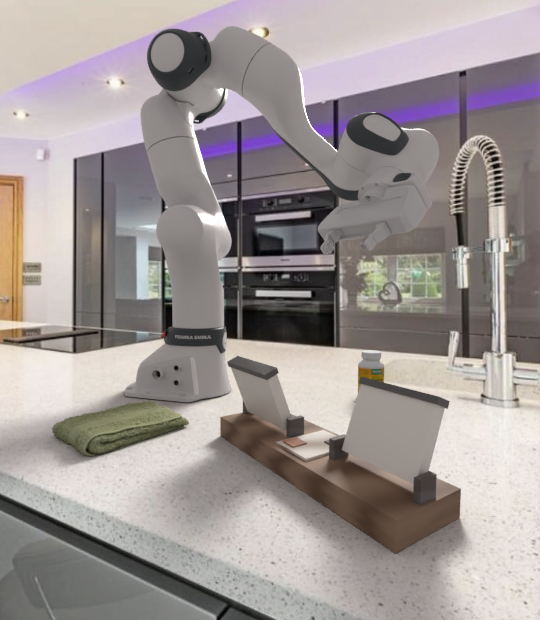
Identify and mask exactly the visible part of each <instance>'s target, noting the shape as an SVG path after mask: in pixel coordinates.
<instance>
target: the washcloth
mask: <svg viewBox="0 0 540 620" xmlns="http://www.w3.org/2000/svg"><path fill="white" fill-rule="evenodd" d="M188 425H190V421H189V419H188V418H186V417H183V416H182V414H180V413H177V412H175V411H172V409H171V408H169V407H168V406H165V405H164V406H163V405H158V404H157V403H156V402H155V401H150V400H147V401H139V402H130V403H126V404H122V405H118V406H115V407H109V408H106V409H104V410H100V411H95V412H89V413H83V414H80V415H75V416H69V417H66V418H64V419H63V420H61V421H58V422H56V423H54V425H53V427H52V428H51V430H52V432H51V433H52V434H53V436H54V437H57V438H58V439H60V440H62V441H63V442H64V443H66V445H69V444H70V445H72V446H73V447H74V449H75V450H77V451H78V452H79V453H81V454H82V456H86V457H94V456H99V455H100V454H105V453H108V452H111V451H115V450H119V449H122V448H125V447H127V446H131V445H134V444H137V443H139V442H143V441H145V440H148V439H151V438H153V437H157V436H159V435H162V434H166V433H168V432H170V431H175V430H179V429H183V428H184V427H186V426H188ZM178 428H179V429H178Z"/></svg>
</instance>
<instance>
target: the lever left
mask: <svg viewBox="0 0 540 620" xmlns="http://www.w3.org/2000/svg"><path fill="white" fill-rule="evenodd" d="M226 364H227V366H228V368H230V369H231V371H232V374H233V376H234V380H235V382H236V385H237V387H238V390H239V393H240V395H241V398H242V399H241V400H242V402H243V401H244V404H245V407H246V409H247V411H248V412H250V413H252V414H254V415H256V416H258V417H260V418H262V419H264V420H266V421H268V422H270V423H272V424H274V425H276V426H278V427H280V428H282V429H283V430H286V429H287V418H291V414H292V413H291V412H290V409H289V406H288V402H287V400H286V399H287V398H286V397H285V393H284V390H283V387H282V385H281V382H280V379H279V376H278V374H279V373H280V372H279V368H278V367H277V366H276V367H275V366H272V365H270V364H267V363H264V362H263V363H262V362H260V361H256V360H253V359H251V358H250V359H249V358H247V357H246V358H245V357H243V356H239V355H236V356H235V357H233V358H231V359H230V360H228V361H226Z"/></svg>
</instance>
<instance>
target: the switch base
mask: <svg viewBox="0 0 540 620" xmlns="http://www.w3.org/2000/svg"><path fill="white" fill-rule="evenodd" d="M290 414H291V418H287V429H286V430H283V429H282V428H280V427H278V426H276V425H274V424H272V423H270V422H268V421H266V420H264V419H262V418H260V417H258V416H256V415H254V414H252V413H250V412H248V411H247V409H246V407H245V404H244V401H243V400H242V412H238V413H234V414H228V415H223V416H220V418H219V419H220V420H219V421H220V427H219V428H220V429H219V431H220V437H221V438H222V439H224V440H226V441H228V443H231V444H232V445H233V446H235V447H236V448H238V449H239V450H240V451H242V452H244V453H245V454H246V455H248V456H249V457H251V458H252V459H254V460H256V462H258V463H260V464H261V465H263V466H264V467H265V468H267V469H269V470H270V471H271V472H273V473H274V474H277V476H279V477H281V478H282V479H284V480H285V481H287V482H288V483H289V484H290V485H293V486H294V487H295V488H297V489H298V490H300V491H301V492H303V493H305V494H306V495H307V496H309V497H311V498H312V499H314V501H317V502H318V503H319V504H321V505H323V506H324V507H325V508H327V509H328V510H330V511H332V512H333V513H334V514H336V515H337V516H339V517H340V518H342V519H343V520H345V521H346V522H347V523H349V524H351V525H352V526H353V527H354V528H356V529H358V530H360V531H361V533H364V534H366V535H367V536H369V537H370V538H371V539H373V540H374V541H376V542H378V543H379V544H380V545H381V546H383V547H385V548H387V549H388V550H389V551H391V552H392V553H394V554H397V553H400V552H401V551H403V550H405V549H407V548H408V547H410V546H412V545H413V544H415V543H418V542H419V541H420V540H421V541H422V539H424V538H427V537H428V536H430V535H431V534H433V533H435V532H436V531H439V530H440V529H442V528H444V527H445V526H447V525H449V524H451V523H452V522H454V521H456V520H458V519H460V518H461V499H462V498H461V497H462V496H461V495H462V493H461V492H462V488H461V487H458V486H456V485H453V484H451V483H449V482H446V481H444V480H442V479H440V478H438V477H437V473H435V472H433V471H431V470H429V471H428V472H425V473H423V474H421V475H418V476H416V477H414V484H412V483H410V482H408V481H405V480H403V479H401V478H399V477H397V476H395V475H393V474H391V473H389V472H387V471H385V470H382V469H380V468H378V467H376V466H374V465H372V464H370V463H368V462H366V461H364V460H362V459H360V458H357V457H355V456H353V455H351V454H349V453H347V452H345V451H343V450H342V447H343V443H344V440H345V436H346V434H345V433H343V434H338V433H335V432H333V431H331V430H328V429H326V428H323V427H321V426H319V425H317V424H315V423H312V422H310V421H308V420H306V419H305V416H304V415H301V414H300V415H294V414H292V413H290Z"/></svg>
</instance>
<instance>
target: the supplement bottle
mask: <svg viewBox="0 0 540 620" xmlns="http://www.w3.org/2000/svg"><path fill="white" fill-rule="evenodd" d="M360 357H361V360H359V362H358V364H357V368H358V369H357V393H358V392H359V389H360V385H361V384H360V383H359V380H360V377H364V378H368V379H372V380H376V381H380V382H384V383H385V364H384V363H383V361H381V358H382V351H379V350H375V349H374V350H372V349H369V350H362V351H361V356H360Z"/></svg>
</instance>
